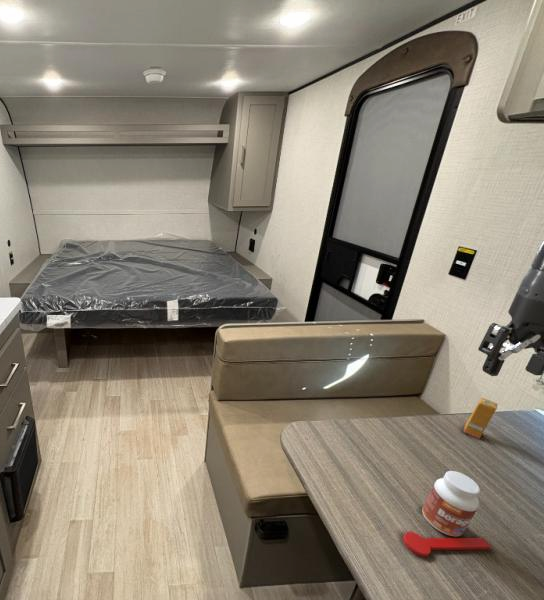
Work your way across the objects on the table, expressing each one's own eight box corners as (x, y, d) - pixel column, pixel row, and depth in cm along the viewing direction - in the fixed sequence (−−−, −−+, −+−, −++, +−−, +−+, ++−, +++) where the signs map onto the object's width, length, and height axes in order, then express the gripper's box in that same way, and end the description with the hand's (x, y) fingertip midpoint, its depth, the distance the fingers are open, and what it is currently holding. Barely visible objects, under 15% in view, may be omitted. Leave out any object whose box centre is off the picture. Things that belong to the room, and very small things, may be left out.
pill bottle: (428, 530, 61) (448, 490, 57) (416, 502, 66) (434, 463, 62) (469, 543, 59) (494, 502, 55) (454, 512, 64) (475, 473, 60)
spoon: (476, 534, 60) (477, 531, 60) (496, 556, 57) (498, 553, 56) (398, 534, 60) (399, 531, 60) (414, 556, 57) (415, 554, 56)
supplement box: (481, 440, 81) (497, 409, 78) (463, 432, 84) (477, 401, 80) (482, 433, 84) (498, 402, 80) (464, 426, 86) (479, 396, 82)
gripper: (534, 304, 52) (494, 386, 58) (619, 303, 52) (571, 384, 58) (487, 289, 59) (456, 363, 65) (563, 287, 59) (525, 362, 65)
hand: (511, 373), depth 61 cm, fingers open, 8 cm apart
